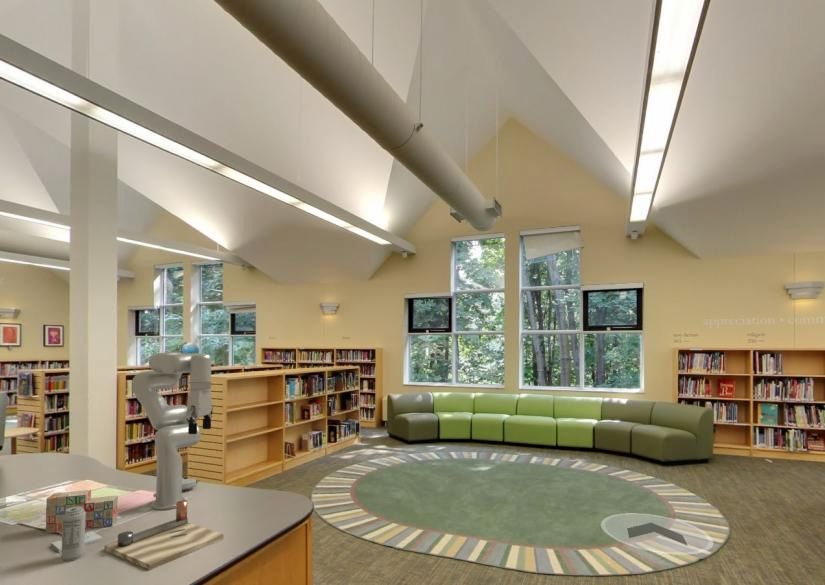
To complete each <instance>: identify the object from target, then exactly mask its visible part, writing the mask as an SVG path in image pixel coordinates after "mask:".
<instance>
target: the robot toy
mask: <svg viewBox="0 0 825 585" xmlns="http://www.w3.org/2000/svg"><path fill="white" fill-rule="evenodd" d="M200 481H201V479H199V480H197V479H196V478H193V477H191V478H188V477H182V491H185V490H187V491H189V490H190V491H191V490H192V489H193V488H195V487H196V486H197V485H198V483H199V482H200Z"/></svg>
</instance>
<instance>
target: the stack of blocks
mask: <svg viewBox="0 0 825 585" xmlns="http://www.w3.org/2000/svg"><path fill="white" fill-rule="evenodd" d="M91 496H92V489H87V490H86V489H85V490H73V491H65V492H62V491H61V492H53V493H52V494H50V495H49V496H48V497H47V498H46V503H45V504H46V508H45V509H46V510H45V533H46V534H48V533H50V534H51V533H57V532H56V531H61V532H62V527H63V515H64V513H65V512H66V511H65V510H66V509H68V508H71V507H75V506H83V507H84V508H83V509H84V510H85V512H86V517H85V528H90V529H96V528H95V527H99V528H107V526H109V527H113V526H114V525H115V524H116V522H117V521H118V502H119V501H118V499H119V496H118V495H110V496H95V497H91ZM92 527H94V528H92Z"/></svg>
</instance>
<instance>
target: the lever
mask: <svg viewBox="0 0 825 585" xmlns="http://www.w3.org/2000/svg"><path fill="white" fill-rule="evenodd" d="M188 520H189V519H188V500H187V499H186V500H181V501H178V502H176V508H175V519H173V520H171V521H170V520H169V521H167V522H164V523H161V524H158V525H156V526H154V527H151V528H147V529H145V530H142V531H139V532H135V533H134V532H133V531H128V530H127V531H123V532H120V533H118V535H117V541H118V544H117V545H118V546H127V545H130V544H132V543H133V542H136V541H138V540H141V539H144V538H147V537H149V536H152V535H155V534H158V533H160V532H163V531H166V530H169V529H171V528H174V527H177V526H180V525H183V524H185V523H189V521H188Z"/></svg>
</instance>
